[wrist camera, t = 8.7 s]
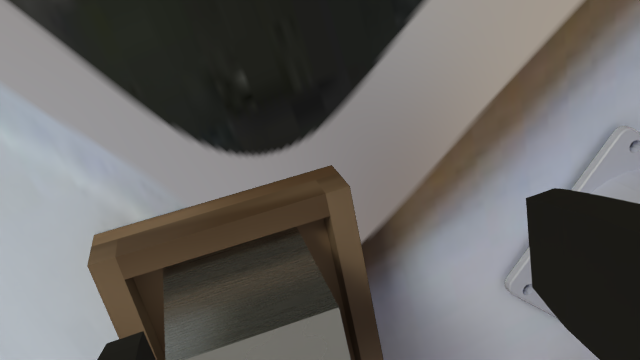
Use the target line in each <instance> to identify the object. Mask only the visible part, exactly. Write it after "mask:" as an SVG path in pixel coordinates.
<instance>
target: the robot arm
mask: <svg viewBox="0 0 640 360" xmlns="http://www.w3.org/2000/svg"><path fill="white" fill-rule="evenodd" d="M632 142H633V145H632V147H631V148H630V145H631V143H632ZM526 205H527V219H528V233H529V248H528V249H527V250H526V252H525V253H524V255H523V256H522V257H521V259H520V260H519V261H518V263H517V264H516V265H515V267H514V268H513V270H512V271H511V272H510V274H509V275H508V276H507V278H506V280H505V288H506V289H507V290H508V291H509V292H510V293H511V294H512V295H514V296H516V297H518V298H520V299H522V300H524V301H526V302H528V303H530V304H531V305H533V306H535V307H537V308H539V309H541V310H543V311H545V312H547V313H549V314H551V315H552V316H554V317H556V318H558V319H559V320H560V322H561V323H562V324H563V325H564V326H565V327H566V328H567V329H568V330H569V331H570V332H571V333H572V334H573V335H574V336H575V337H576V338H577V339H578V340H579V341H580V342H581V343H582V344H584V345H585V346H586V347H587V348H588V349H589V350H590V351H591V352H592V353H593V354H594V355H595V356H596V357H598V358H599V359H600V360H640V133H639V132H638V131H636V130H635V129H633V128H630V127H628V126H621V127H619V128H617V129H616V130H615V131H614V132H613V133H612V135H611V136H610V138H609V139H608V140H607V142H606V143H605V144H604V146H603V147H602V148H601V150H600V151H599V152H598V154H597V155H596V157H595V158H594V159H593V161H592V162H591V163H590V165H589V166H588V167H587V169H586V170H585V172H584V173H583V174H582V176H581V177H580V178H579V180H578V181H577V182H576V184H575V185H574V187H573V188H572V189H571V190H565V189H556V188H554V189H551V190H549V191H546V192H543V193H540V194H537V195H534V196H531V197H528V198H526ZM526 285H528V286H527V287H526V288H525V289H524V287H525V286H526ZM523 289H524V290H523ZM97 360H156V359H155V356H154V354H153V352H152V350H151V347H150V345H149V343H148V341H147V338H146V336H145V334H144V331H142V332H139V333H136V334H133V335H130V336H127V337H125V338H122V339H119V340H116V341H113V342H110V343H107V344H106V346H105V347H104V349H103V351H102V352H101V354H100V356H99V358H98V359H97Z"/></svg>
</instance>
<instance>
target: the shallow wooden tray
mask: <svg viewBox="0 0 640 360" xmlns="http://www.w3.org/2000/svg"><path fill="white" fill-rule="evenodd" d="M293 227H297V229H298V231H299V233H300V234H301V236H302V238H303V240H304V242H305V244H306V246H307V248H308V250H309V252H310V253H311V255H312V257H313V259H314V261H315V263H316V265H317V267H318V269H319V270H320V272H321V274H322V276H323V278H324V280H325V282H326V284H327V286H328V287H329V289H330V291H331V293H332V295H333V297H334V299H335V301H336V303H337V305H338V306H339V310H340V314H341V318H342V323H343V327H344V332H345V336H346V341H347V345H348V350H349V354H350V359H351V360H383V355H382V350H381V345H380V340H379V335H378V329H377V324H376V319H375V314H374V309H373V304H372V298H371V293H370V288H369V283H368V278H367V273H366V268H365V262H364V257H363V252H362V247H361V242H360V237H359V231H358V226H357V221H356V216H355V211H354V206H353V200H352V196H351V190H350V186H349V185H348V184H347V183H346V181H345V180H344V179H343V178H342V177H341V175H340V174H339V173H338V172H337V171H336V170H335V169H334V167H333V166H332V165H331V166H327V167H324V168H321V169H317V170H314V171H310V172H307V173H304V174H300V175H297V176H293V177H290V178H287V179H283V180H280V181H276V182H273V183H270V184H267V185H263V186H260V187H256V188H253V189H249V190H246V191H242V192H239V193H236V194H232V195H229V196H226V197H222V198H219V199H215V200H212V201H208V202H205V203H202V204H198V205H195V206H191V207H188V208H185V209H181V210H178V211H174V212H171V213H168V214H164V215H161V216H157V217H154V218H151V219H147V220H144V221H140V222H137V223H134V224H130V225H127V226H123V227H120V228H117V229H113V230H110V231H106V232H103V233H100V234H96V235H94V238H93V242H92V247H91V251H90V256H89V261H88V265H87V266H88V268H89V271H90V273H91V275H92V277H93V280H94V282H95V284H96V287H97V289H98V291H99V293H100V296H101V298H102V300H103V303H104V305H105V307H106V310H107V312H108V314H109V316H110V319H111V321H112V323H113V326H114V328H115V330H116V332H117V335H118V337H119V339H122V338H125V337H127V336H130V335H133V334H136V333H139V332H142V331H144V334H145V336H146V338H147V341H148V343H149V345H150V347H151V350H152V352H153V354H154V356H155V359H156V360H165V327H164V291H163V268H164V267H167V266H171V265H174V264H177V263H180V262H184V261H187V260H190V259H193V258H196V257H200V256H203V255H206V254H209V253H213V252H216V251H219V250H222V249H225V248H229V247H232V246H235V245H238V244H242V243H245V242H248V241H251V240H254V239H258V238H261V237H264V236H267V235H271V234H274V233H277V232H280V231H283V230H287V229H290V228H293Z"/></svg>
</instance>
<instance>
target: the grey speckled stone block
mask: <svg viewBox="0 0 640 360" xmlns="http://www.w3.org/2000/svg"><path fill="white" fill-rule="evenodd" d="M163 291H164V327H165V360H351V359H350V354H349V350H348V345H347V341H346V336H345V332H344V327H343V323H342V318H341V314H340V310H339V306H338V305H337V303H336V301H335V299H334V297H333V295H332V293H331V291H330V289H329V287H328V286H327V284H326V282H325V280H324V278H323V276H322V274H321V272H320V270H319V269H318V267H317V265H316V263H315V261H314V259H313V257H312V255H311V253H310V252H309V250H308V248H307V246H306V244H305V242H304V240H303V238H302V236H301V234H300V233H299V231H298V229H297V227H293V228H290V229H287V230H283V231H280V232H277V233H274V234H271V235H267V236H264V237H261V238H258V239H254V240H251V241H248V242H245V243H242V244H238V245H235V246H232V247H229V248H225V249H222V250H219V251H216V252H213V253H209V254H206V255H203V256H200V257H196V258H193V259H190V260H187V261H184V262H180V263H177V264H174V265H171V266H167V267H164V268H163Z"/></svg>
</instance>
